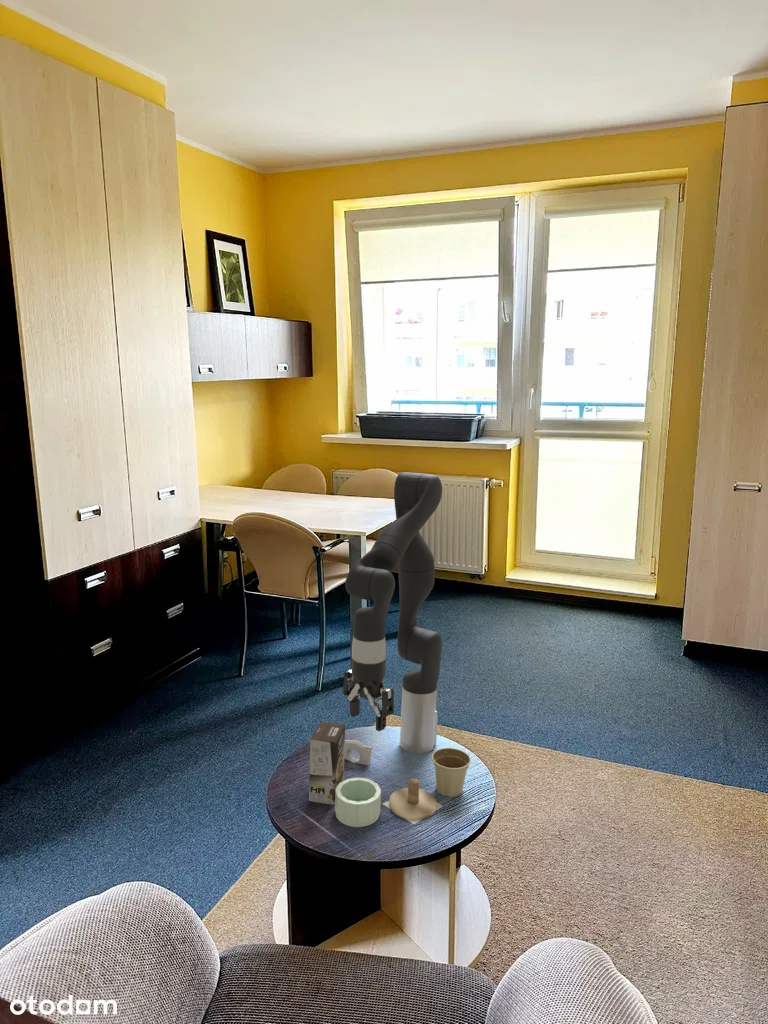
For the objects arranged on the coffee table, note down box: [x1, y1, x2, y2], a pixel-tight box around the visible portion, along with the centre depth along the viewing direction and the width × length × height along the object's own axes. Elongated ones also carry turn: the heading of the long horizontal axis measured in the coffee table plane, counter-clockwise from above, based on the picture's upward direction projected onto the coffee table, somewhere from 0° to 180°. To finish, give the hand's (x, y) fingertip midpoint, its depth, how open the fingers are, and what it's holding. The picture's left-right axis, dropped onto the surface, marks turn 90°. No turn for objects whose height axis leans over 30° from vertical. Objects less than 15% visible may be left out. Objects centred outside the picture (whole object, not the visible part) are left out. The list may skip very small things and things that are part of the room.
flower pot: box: [431, 747, 472, 798], centre depth 168 cm, size 9×9×9 cm
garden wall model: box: [344, 739, 373, 766], centre depth 180 cm, size 12×2×6 cm, turn 63°
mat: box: [382, 800, 444, 825], centre depth 162 cm, size 10×10×1 cm
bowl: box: [334, 777, 382, 828], centre depth 158 cm, size 10×10×6 cm
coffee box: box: [308, 721, 346, 806], centre depth 164 cm, size 9×6×16 cm
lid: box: [388, 778, 438, 821], centre depth 161 cm, size 11×11×6 cm
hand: (367, 722), depth 156 cm, fingers open, 8 cm apart
